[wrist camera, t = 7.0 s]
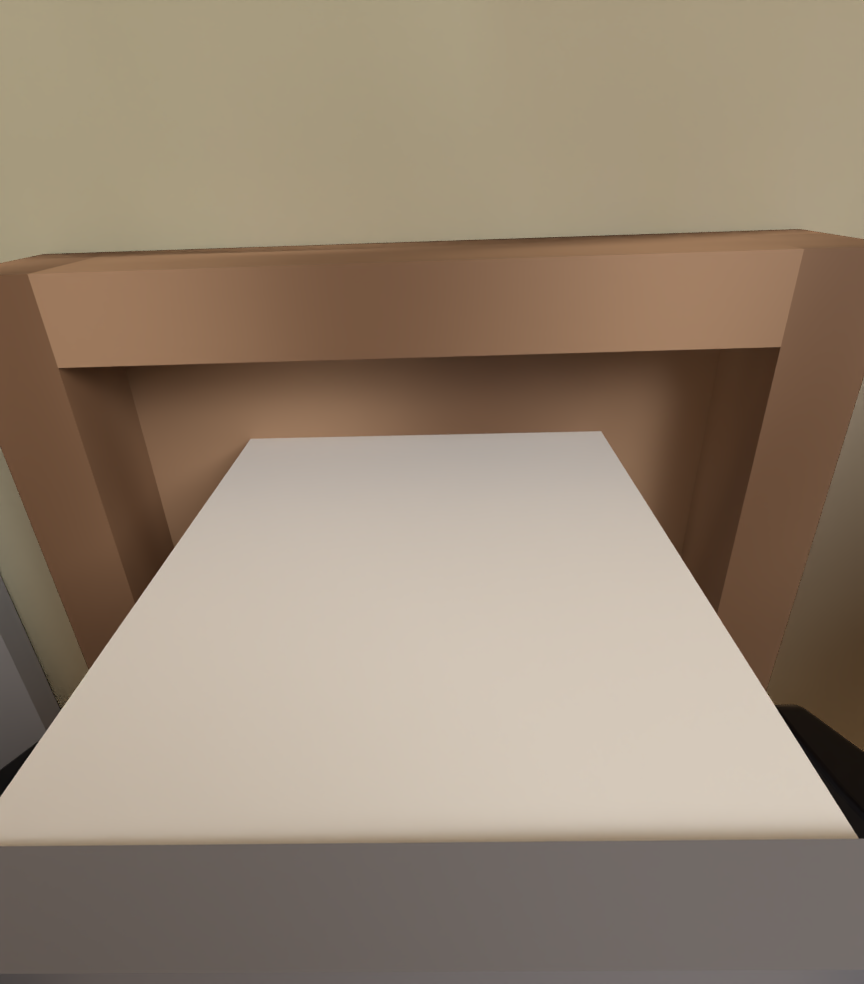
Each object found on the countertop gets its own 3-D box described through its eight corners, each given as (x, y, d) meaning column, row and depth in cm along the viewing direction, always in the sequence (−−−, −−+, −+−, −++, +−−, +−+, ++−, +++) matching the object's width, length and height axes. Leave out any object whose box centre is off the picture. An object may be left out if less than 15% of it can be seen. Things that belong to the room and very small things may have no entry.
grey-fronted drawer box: (608, 424, 9) (981, 969, 3) (568, 767, 12) (694, 1339, 6) (242, 432, 9) (-163, 976, 3) (305, 770, 12) (179, 1337, 6)
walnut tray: (799, 228, 8) (904, 246, 6) (664, 814, 13) (698, 910, 12) (43, 254, 8) (-67, 277, 6) (218, 819, 14) (186, 915, 12)
